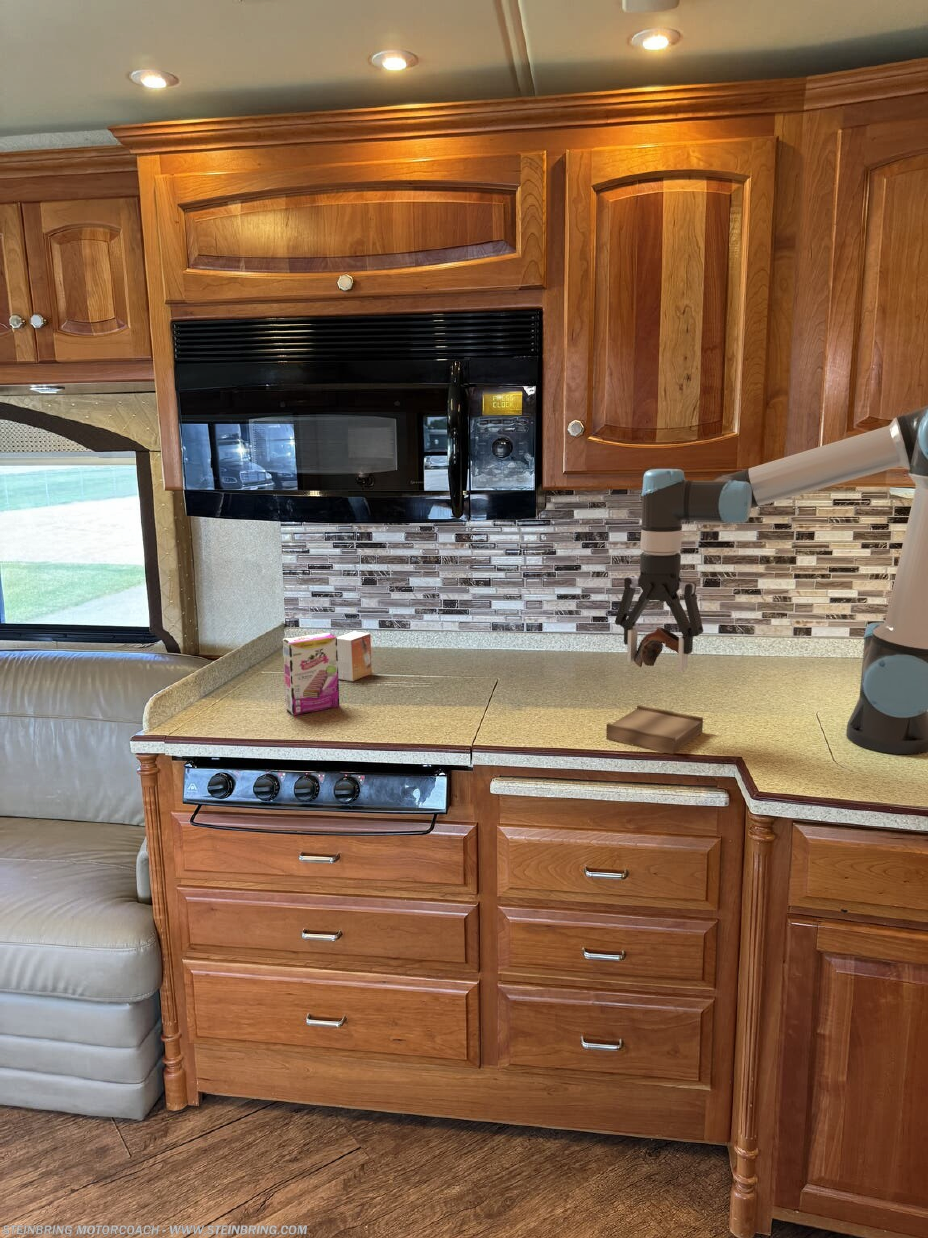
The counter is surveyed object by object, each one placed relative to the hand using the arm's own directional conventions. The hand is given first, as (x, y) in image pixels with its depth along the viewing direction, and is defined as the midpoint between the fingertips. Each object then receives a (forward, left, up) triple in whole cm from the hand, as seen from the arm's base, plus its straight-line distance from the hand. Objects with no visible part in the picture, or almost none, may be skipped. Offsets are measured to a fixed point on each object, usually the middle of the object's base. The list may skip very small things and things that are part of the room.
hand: (656, 665), depth 170 cm
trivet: (0, 0, -15) cm, 15 cm away
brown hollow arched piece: (0, 0, 0) cm, 1 cm away
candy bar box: (+69, +27, -15) cm, 75 cm away
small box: (+79, +4, -15) cm, 80 cm away
